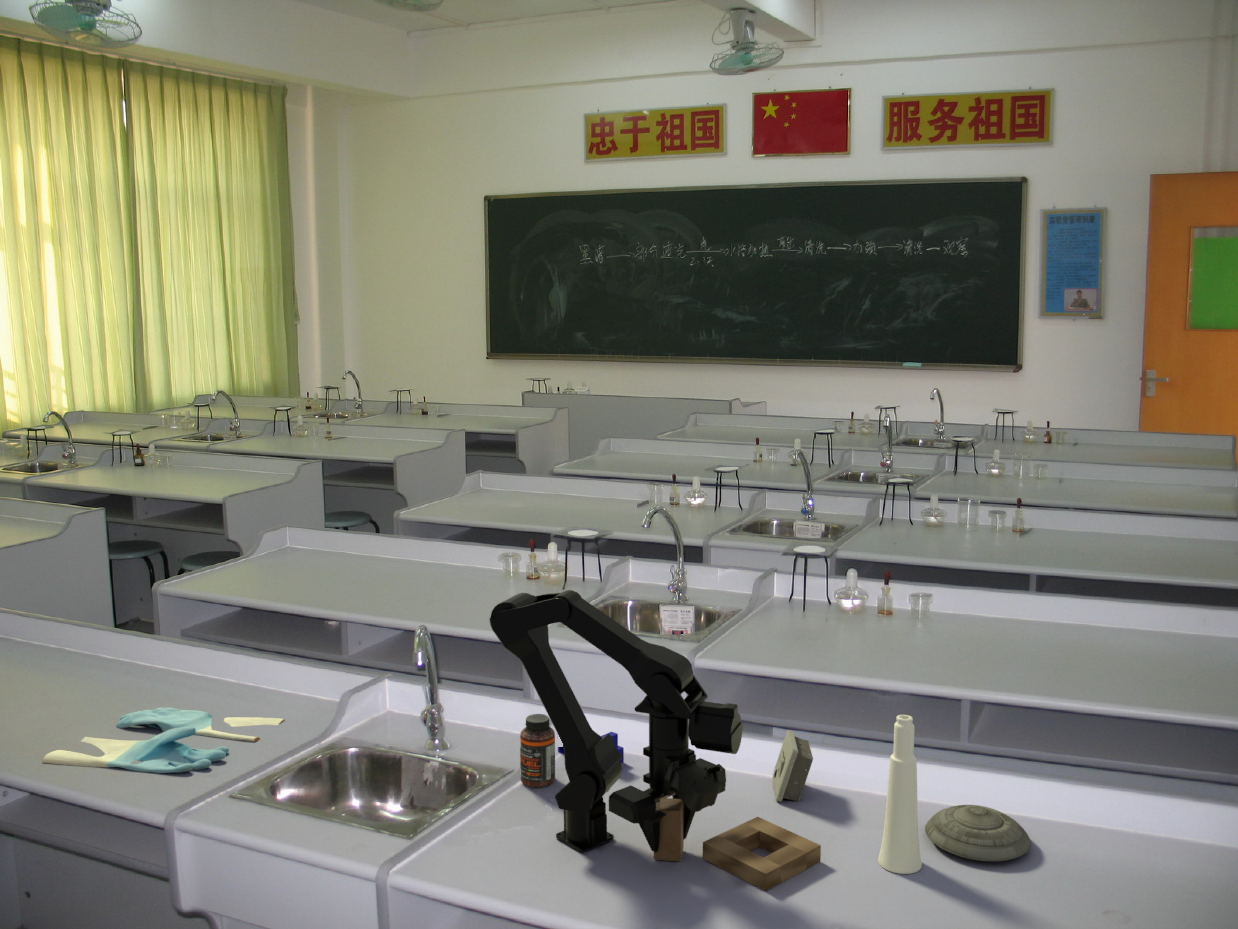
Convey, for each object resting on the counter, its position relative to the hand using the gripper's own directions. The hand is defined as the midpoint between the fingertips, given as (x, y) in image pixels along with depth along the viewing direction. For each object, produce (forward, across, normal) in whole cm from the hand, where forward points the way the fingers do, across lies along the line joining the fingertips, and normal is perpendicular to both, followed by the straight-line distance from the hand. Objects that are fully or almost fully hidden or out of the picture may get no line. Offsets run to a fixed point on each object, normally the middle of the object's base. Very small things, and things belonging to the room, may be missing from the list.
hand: (668, 844), depth 155 cm
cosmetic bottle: (+2, +23, -24) cm, 33 cm away
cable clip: (+2, +14, +35) cm, 38 cm away
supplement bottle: (+2, +1, +33) cm, 33 cm away
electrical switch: (+2, +30, +2) cm, 30 cm away
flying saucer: (+2, +37, -28) cm, 46 cm away
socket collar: (+2, +9, -10) cm, 14 cm away
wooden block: (+2, 0, 0) cm, 2 cm away
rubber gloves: (+2, -39, +94) cm, 102 cm away
